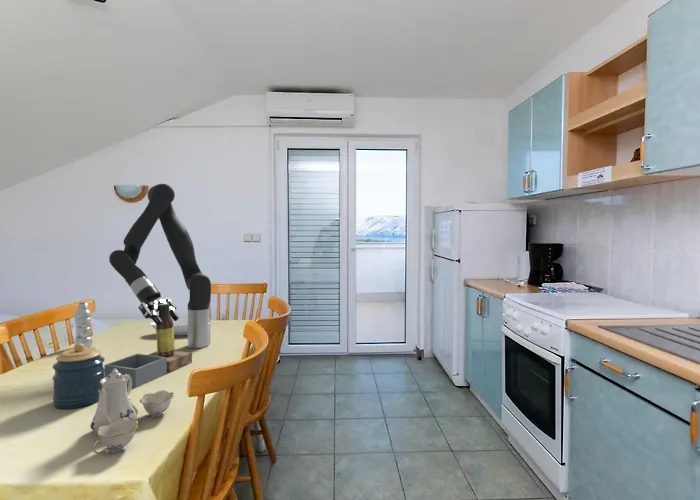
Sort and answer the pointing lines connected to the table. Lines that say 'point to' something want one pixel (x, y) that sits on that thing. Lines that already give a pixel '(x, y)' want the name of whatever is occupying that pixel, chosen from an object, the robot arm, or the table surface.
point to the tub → (139, 368)
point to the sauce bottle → (165, 332)
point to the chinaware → (122, 411)
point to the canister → (77, 377)
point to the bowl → (179, 326)
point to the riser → (176, 360)
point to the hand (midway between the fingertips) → (169, 321)
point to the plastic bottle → (83, 325)
